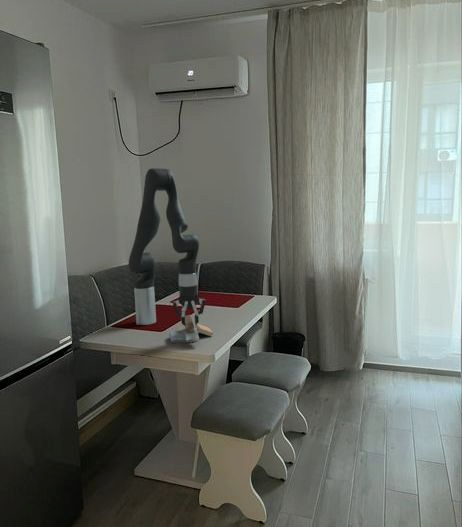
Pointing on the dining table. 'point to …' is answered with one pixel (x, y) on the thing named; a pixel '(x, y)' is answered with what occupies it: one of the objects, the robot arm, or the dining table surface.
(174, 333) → the stone block
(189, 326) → the spatula
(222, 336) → the dining table surface
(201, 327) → the tile
